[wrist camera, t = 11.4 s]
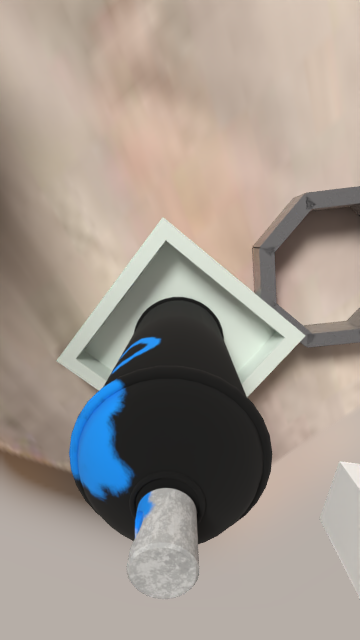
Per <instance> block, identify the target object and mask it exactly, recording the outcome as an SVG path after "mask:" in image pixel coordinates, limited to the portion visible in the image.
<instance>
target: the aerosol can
mask: <svg viewBox="0 0 360 640" xmlns="http://www.w3.org/2000/svg"><path fill="white" fill-rule="evenodd" d="M69 455H70V464H71V471H72V474H73V477H74V479H75V482H76V485H77V487H78V489H79V491H80V492H81V494H82V496H83V497H84V499H85V501H86V502H87V503H88V504H89V505H90V506H91V507H92V508H93V509H94V511H95V512H96V513H97V514H99V515H100V516H101V517H102V518H103V519H104V520H105V521H106V522H107V523H108V524H109V525H110V526H111V527H112V528H114V529H115V530H116V531H118V532H119V533H120V534H122V535H124V536H125V537H127V538H129V539H131V540H133V541H134V542H133V544H132V546H131V548H130V553H129V558H128V564H127V574H128V577H129V579H130V581H131V583H132V584H133V585H134V586H135V587H136V589H137V590H139V591H140V592H142V593H143V594H145V595H147V596H150V597H153V598H158V599H169V598H175V597H178V596H180V595H182V594H184V593H186V592H187V591H188V590H190V589H191V588H192V587H193V586H194V585H195V583H196V581H197V579H198V576H199V558H198V544H200V543H203V542H206V541H208V540H210V539H212V538H214V537H216V536H218V535H219V534H220V533H222V532H223V531H224V530H226V529H227V528H228V527H230V526H232V525H233V524H234V523H236V522H237V521H238V520H239V519H241V518H242V517H244V516H245V515H246V514H247V513H248V512H249V511H250V510H251V508H252V507H253V506H254V505H255V504H256V503H257V501H258V500H259V498H260V496H261V495H262V493H263V491H264V489H265V488H266V485H267V481H268V478H269V475H270V472H271V462H272V449H271V442H270V435H269V433H268V430H267V427H266V425H265V422H264V420H263V418H262V416H261V415H260V413H259V412H258V410H257V409H256V407H255V406H254V404H253V403H252V402H251V401H250V400H249V399H248V398H247V396H246V394H245V391H244V389H243V386H242V384H241V381H240V379H239V377H238V374H237V372H236V369H235V367H234V364H233V362H232V359H231V357H230V354H229V352H228V349H227V347H226V345H225V342H224V335H223V330H222V327H221V324H220V322H219V320H218V318H217V317H216V315H215V314H214V313H213V312H212V311H211V310H210V309H209V308H208V307H207V306H205V305H204V304H202V303H201V302H199V301H196V300H194V299H191V298H186V297H170V298H165V299H163V300H160V301H158V302H156V303H154V304H153V305H151V306H150V307H148V308H147V309H146V310H145V311H144V312H143V313H142V315H141V317H140V318H139V320H138V321H137V324H136V327H135V330H134V334H133V336H132V338H131V339H130V341H129V343H128V345H127V346H126V348H125V350H124V352H123V353H122V355H121V357H120V358H119V360H118V362H117V364H116V365H115V367H114V369H113V371H112V372H111V374H110V376H109V378H108V379H107V381H106V383H105V384H104V386H103V388H101V389H100V390H99V391H98V392H97V393H96V394H95V395H94V396H93V397H92V398H91V399H90V400H89V401H88V402H87V404H86V405H85V407H84V408H83V410H82V411H81V413H80V414H79V416H78V418H77V421H76V423H75V426H74V429H73V431H72V435H71V443H70V451H69Z"/></svg>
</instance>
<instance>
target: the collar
mask: <svg viewBox="0 0 360 640" xmlns="http://www.w3.org/2000/svg"><path fill="white" fill-rule="evenodd" d="M341 207H351V208H352V209H353V210H354V211H355V212H356V213H357V214H358V215H359V216H360V186H359V187H350V188H342V189H334V190H326V191H317V192H309V193H305V194H302V195H300V196H298V197H295V198H293V199H292V200H291V201H290V203H289V204H288V205H287V206H286V207H285V209H284V210H283V211H282V212H281V213H280V215H279V216H278V217H277V218H276V219H275V221H274V222H273V223H272V224H271V225H270V227H269V228H268V229H267V230H266V231H265V233H264V234H263V235H262V236H261V237H260V239H259V240H258V241H257V242H256V243H255V245H254V246H253V247H254V248H252V254H253V273H254V292H255V294H256V295H257V296H259V297H260V298H261V299H262V300H263V301H265V302H266V303H267V304H268V305H269V306H271V307H272V308H273V309H274V310H275V311H277V312H278V313H279V314H280V315H281V316H283V317H284V318H285V319H286V320H287V321H289V322H290V323H291V324H292V325H293V326H295V327H296V328H297V329H298V330H299V331H301V332H302V333H303V334H304V335H305V337H304V338H303V339H302V340H301V341H300V342H301V343H302V344H303V345H304V346H305V347H317V346H327V345H337V344H347V343H357V342H360V308H359V309H358V310H357V311H356V312H355V313H354V314H353V315H352V316H351V317H350V318H349V319H348V320H347V321H343V322H333V323H323V324H314V325H304V326H303V325H302V324H300V323H299V322H298V321H297V320H296V319H294V318H293V317H292V316H291V315H290V314H288V313H287V312H286V311H285V310H284V309H282V308H281V307H280V306H279V305H278V304H276V279H275V251H276V250H277V249H278V248H279V247H280V245H281V244H282V243H283V242H284V241H285V240H286V238H287V237H288V236H289V235H290V234H291V233H292V231H293V230H294V229H295V228H296V227H297V226H298V224H299V223H300V222H301V221H302V220H303V219H304V217H305V216H306V215H307V214H308V213H309V212H310V211H315V210H324V209H332V208H341Z"/></svg>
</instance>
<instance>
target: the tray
mask: <svg viewBox="0 0 360 640" xmlns="http://www.w3.org/2000/svg"><path fill="white" fill-rule="evenodd" d="M170 297H186V298H191V299H194V300H196V301H199V302H201V303H202V304H204V305H205V306H207V307H208V308H209V309H210V310H211V311H212V312H213V313H214V314H215V315H216V317H217V318H218V320H219V322H220V324H221V327H222V330H223V335H224V342H225V345H226V347H227V349H228V352H229V354H230V357H231V359H232V362H233V364H234V367H235V369H236V372H237V374H238V377H239V379H240V381H241V384H242V386H243V389H244V391H245V394H246V396H247V397H248V396H249V395H250V394H251V393H252V392H253V391H254V390H255V388H256V387H257V386H258V385H259V384H260V383H261V382H262V381H263V380H264V379H265V378H266V377H267V376H268V375H269V374H270V373H271V372H272V371H273V370H274V368H275V367H276V366H277V365H278V364H279V363H280V362H281V361H282V360H283V359H284V358H285V357H286V356H287V355H288V354H289V353H290V352H291V351H292V350H293V348H294V347H295V346H296V345H297V344H298V343H299V342H300V341H301V340H302V339H303V338H304V337H305V335H304V334H303V333H302V332H301V331H299V330H298V329H297V328H296V327H295V326H293V325H292V324H291V323H290V322H289V321H287V320H286V319H285V318H284V317H283V316H281V315H280V314H279V313H278V312H277V311H275V310H274V309H273V308H272V307H271V306H269V305H268V304H267V303H266V302H265V301H263V300H262V299H261V298H260V297H259V296H257V295H256V294H255V293H254V292H253V291H251V290H250V289H249V288H248V287H246V286H245V285H244V284H243V283H242V282H240V281H239V280H238V279H237V278H236V277H234V276H233V275H232V274H231V273H230V272H228V271H227V270H226V269H225V268H224V267H222V266H221V265H220V264H219V263H218V262H216V261H215V260H214V259H213V258H212V257H210V256H209V255H208V254H207V253H206V252H204V251H203V250H202V249H201V248H200V247H198V246H197V245H196V244H195V243H194V242H192V241H191V240H190V239H189V238H187V237H186V236H185V235H184V234H183V233H181V232H180V231H179V230H178V229H177V228H175V227H174V226H173V225H172V224H171V223H169V222H168V221H167V220H166V219H165V218H162V219H161V220H160V222H159V223H158V225H157V226H156V227H155V229H154V230H153V231H152V233H151V234H150V235H149V237H148V238H147V239H146V241H145V242H144V243H143V245H142V246H141V247H140V249H139V250H138V251H137V253H136V254H135V256H134V257H133V258H132V260H131V261H130V262H129V264H128V265H127V266H126V268H125V269H124V270H123V272H122V273H121V274H120V276H119V277H118V278H117V280H116V281H115V282H114V284H113V285H112V287H111V288H110V289H109V291H108V292H107V293H106V295H105V296H104V297H103V299H102V300H101V301H100V303H99V304H98V305H97V307H96V308H95V309H94V311H93V312H92V314H91V315H90V316H89V318H88V319H87V320H86V322H85V323H84V324H83V326H82V327H81V328H80V330H79V331H78V332H77V334H76V335H75V336H74V338H73V339H72V340H71V342H70V343H69V345H68V346H67V347H66V349H65V350H64V351H63V353H62V354H61V355H60V357H59V358H58V359H57V362H59V363H60V364H61V365H63V366H64V367H66V368H67V369H69V370H70V371H71V372H73V373H74V374H76V375H77V376H79V377H80V378H81V379H83V380H84V381H86V382H87V383H89V384H90V385H91V386H93V387H94V388H96V389H97V390H100V389H101V388H103V386H104V384H105V383H106V381H107V379H108V378H109V376H110V374H111V372H112V371H113V369H114V367H115V365H116V364H117V362H118V360H119V358H120V357H121V355H122V353H123V352H124V350H125V348H126V346H127V345H128V343H129V341H130V339H131V338H132V336H133V334H134V330H135V327H136V324H137V321H138V320H139V318H140V317H141V315H142V313H143V312H144V311H145V310H146V309H147V308H148V307H150V306H151V305H153V304H154V303H156V302H158V301H160V300H163V299H165V298H170Z"/></svg>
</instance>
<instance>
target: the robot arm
mask: <svg viewBox="0 0 360 640" xmlns="http://www.w3.org/2000/svg"><path fill="white" fill-rule="evenodd" d="M320 521H321V523H322V525H323V527H324V529H325V530H326V533H327V535H328V537H329V539H330V541H331V543H332V545H333V547H334V549H335V551H336V553H337V554H338V557H339V559H340V561H341V562H342V565H343V567H344V568H345V571H346V573H347V575H348V576H349V578H350V581H351V583H352V585H353V587H354V589H355V591H356V593H357V594H358V597H359V598H360V464H357V463H349V462H339V464H338V467H337V470H336V473H335V476H334V479H333V481H332V485H331V487H330V490H329V493H328V496H327V499H326V502H325V504H324V507H323V510H322V513H321V516H320Z"/></svg>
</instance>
